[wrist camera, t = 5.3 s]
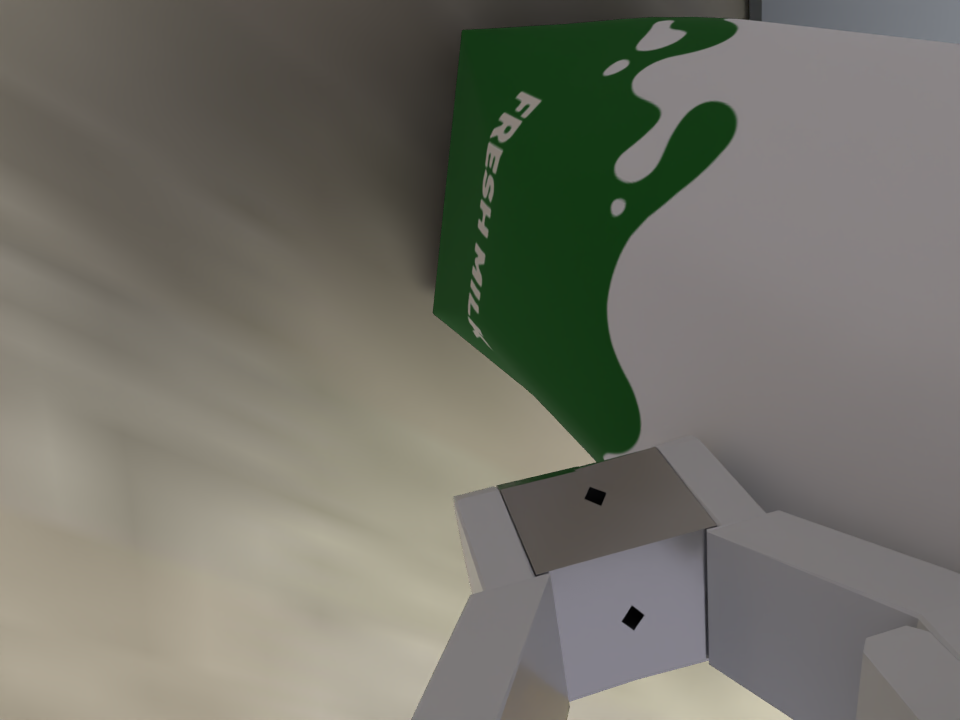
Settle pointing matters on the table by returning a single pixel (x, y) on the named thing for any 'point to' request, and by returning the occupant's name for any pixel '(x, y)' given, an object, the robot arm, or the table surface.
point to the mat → (868, 16)
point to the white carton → (724, 253)
